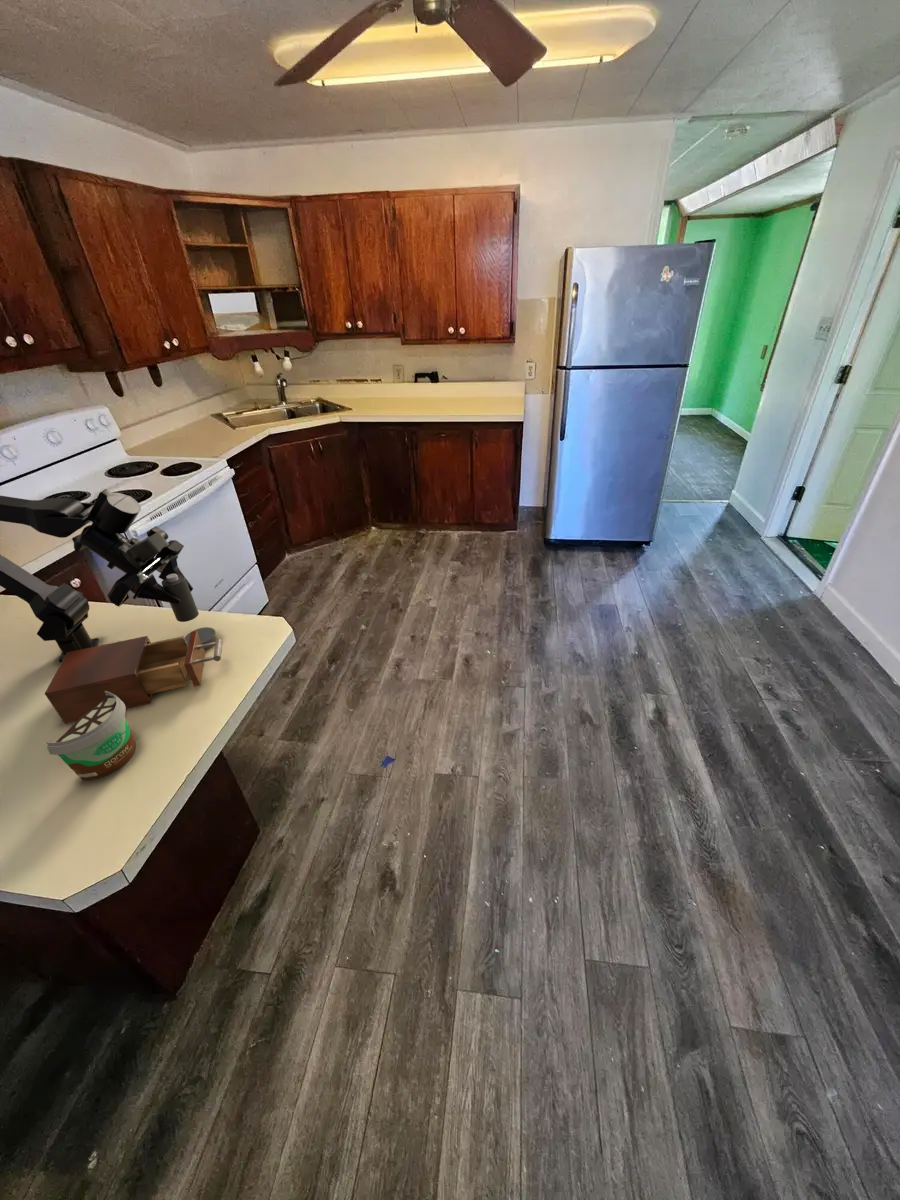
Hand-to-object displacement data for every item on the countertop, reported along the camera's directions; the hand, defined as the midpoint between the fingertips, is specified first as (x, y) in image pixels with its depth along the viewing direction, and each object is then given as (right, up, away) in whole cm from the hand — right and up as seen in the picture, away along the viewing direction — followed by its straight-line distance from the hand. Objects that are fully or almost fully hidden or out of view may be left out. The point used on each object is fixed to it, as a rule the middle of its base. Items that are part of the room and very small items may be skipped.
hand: (185, 596), depth 101 cm
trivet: (-1, -10, +9) cm, 14 cm away
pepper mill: (-1, -4, +3) cm, 5 cm away
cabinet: (-12, -19, -4) cm, 23 cm away
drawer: (0, -16, -2) cm, 16 cm away
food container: (-1, -28, -19) cm, 34 cm away
